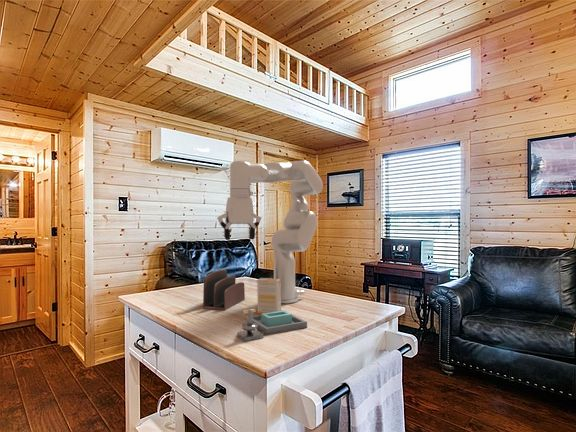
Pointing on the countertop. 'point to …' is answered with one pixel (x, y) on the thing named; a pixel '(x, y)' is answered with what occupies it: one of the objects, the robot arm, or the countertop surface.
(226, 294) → the letter holder
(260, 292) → the supplement box
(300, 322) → the tray
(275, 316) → the teal rectangular frame
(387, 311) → the countertop surface
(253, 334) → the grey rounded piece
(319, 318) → the countertop surface
